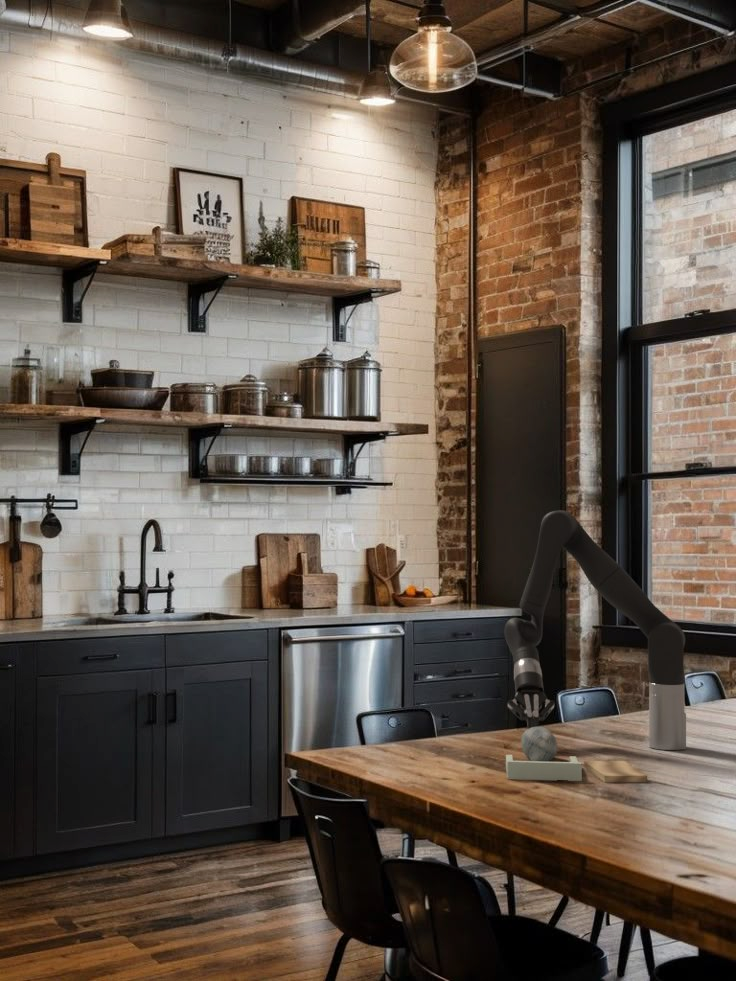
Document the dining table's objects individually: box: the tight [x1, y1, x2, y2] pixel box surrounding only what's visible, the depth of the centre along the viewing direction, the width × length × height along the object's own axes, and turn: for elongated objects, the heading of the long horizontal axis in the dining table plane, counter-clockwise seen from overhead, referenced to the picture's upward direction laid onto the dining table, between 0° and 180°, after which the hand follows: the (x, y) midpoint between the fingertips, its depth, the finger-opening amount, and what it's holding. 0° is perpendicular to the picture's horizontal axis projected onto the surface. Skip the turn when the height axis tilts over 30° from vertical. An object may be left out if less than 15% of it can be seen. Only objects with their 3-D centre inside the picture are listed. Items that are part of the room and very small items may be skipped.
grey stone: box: [520, 726, 558, 762], centre depth 304 cm, size 14×10×10 cm
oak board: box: [583, 760, 648, 783], centre depth 286 cm, size 10×18×2 cm, turn 5°
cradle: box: [505, 754, 583, 782], centre depth 288 cm, size 17×18×4 cm
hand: (534, 731), depth 315 cm, fingers closed
